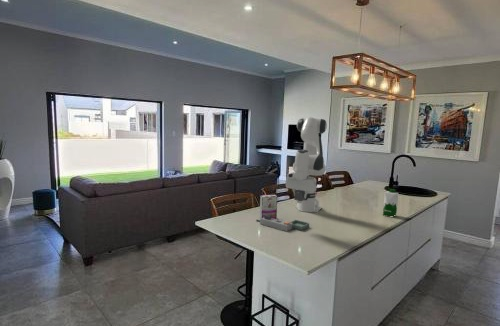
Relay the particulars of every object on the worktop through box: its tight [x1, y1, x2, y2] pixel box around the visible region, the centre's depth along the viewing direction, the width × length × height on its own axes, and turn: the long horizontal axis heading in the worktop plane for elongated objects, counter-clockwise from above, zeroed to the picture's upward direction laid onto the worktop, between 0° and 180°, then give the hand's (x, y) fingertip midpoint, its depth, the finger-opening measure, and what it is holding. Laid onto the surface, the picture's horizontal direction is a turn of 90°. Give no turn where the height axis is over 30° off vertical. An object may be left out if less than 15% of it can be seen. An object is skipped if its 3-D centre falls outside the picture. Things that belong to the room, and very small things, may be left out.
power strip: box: [256, 215, 293, 232], centre depth 189 cm, size 26×7×6 cm, turn 52°
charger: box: [294, 190, 305, 203], centre depth 185 cm, size 5×5×8 cm
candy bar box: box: [259, 194, 278, 220], centre depth 203 cm, size 11×5×16 cm, turn 105°
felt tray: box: [289, 219, 310, 232], centre depth 188 cm, size 10×10×2 cm
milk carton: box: [382, 188, 399, 217], centre depth 221 cm, size 9×9×20 cm
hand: (300, 196), depth 186 cm, fingers closed on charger, 5 cm apart
